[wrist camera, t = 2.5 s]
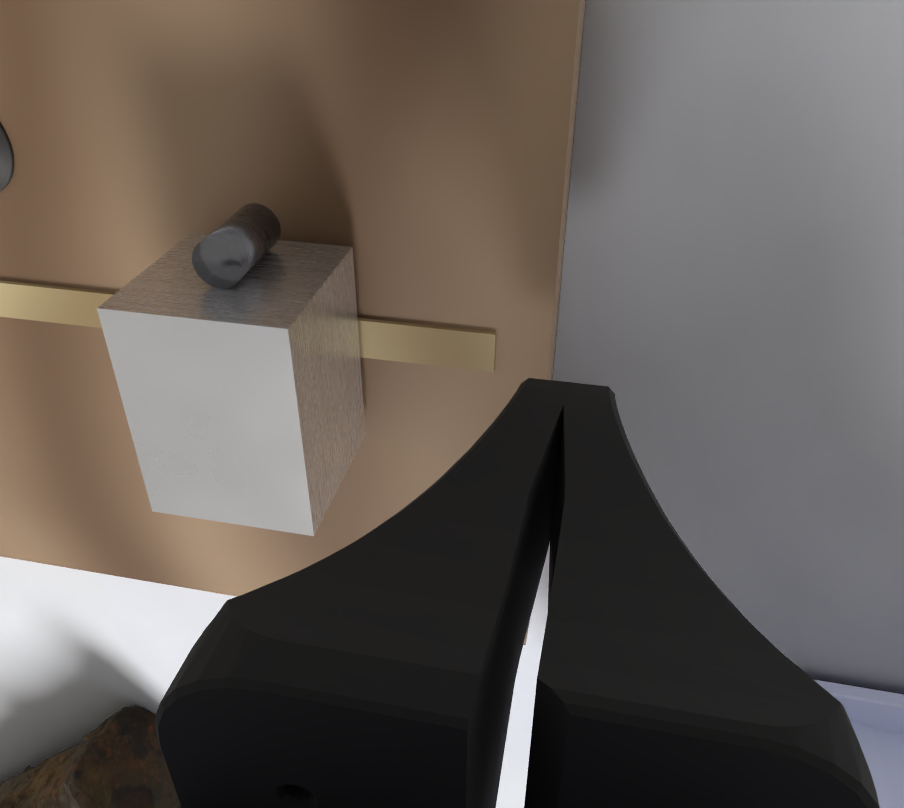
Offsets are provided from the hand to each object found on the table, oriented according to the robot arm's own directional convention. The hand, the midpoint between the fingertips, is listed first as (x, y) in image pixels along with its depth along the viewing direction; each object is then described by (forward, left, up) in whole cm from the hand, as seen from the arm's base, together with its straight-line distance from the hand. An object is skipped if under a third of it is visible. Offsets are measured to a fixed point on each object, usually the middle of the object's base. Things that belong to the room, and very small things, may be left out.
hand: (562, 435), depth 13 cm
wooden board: (+10, +1, -4) cm, 11 cm away
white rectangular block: (+5, 0, -3) cm, 6 cm away
